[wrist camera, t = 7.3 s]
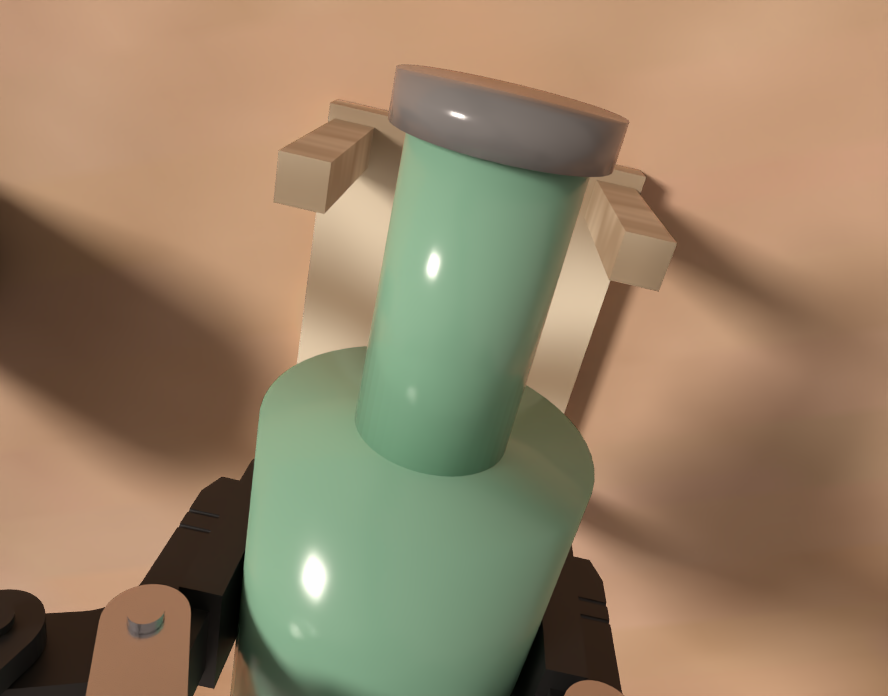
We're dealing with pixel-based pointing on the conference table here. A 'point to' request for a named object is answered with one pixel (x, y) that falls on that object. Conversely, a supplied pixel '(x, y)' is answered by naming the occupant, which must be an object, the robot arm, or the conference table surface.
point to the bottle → (430, 420)
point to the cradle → (366, 227)
